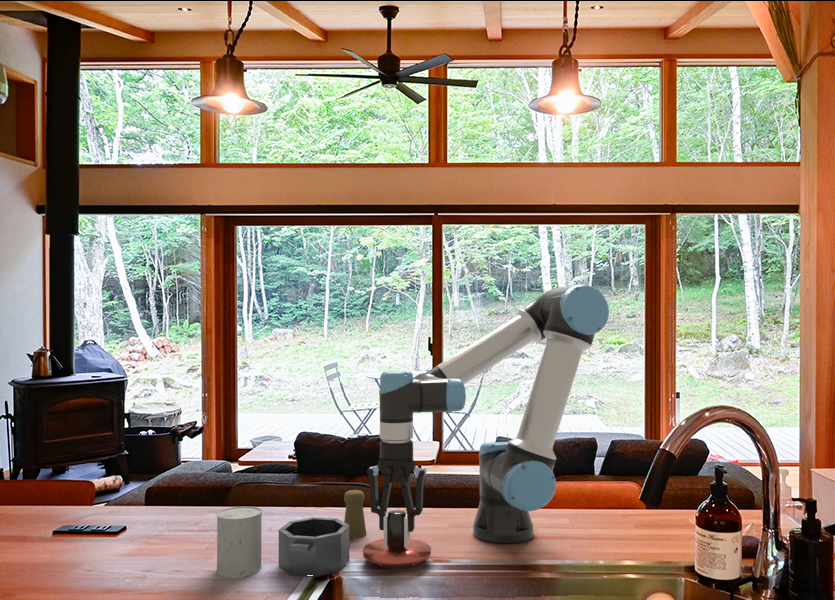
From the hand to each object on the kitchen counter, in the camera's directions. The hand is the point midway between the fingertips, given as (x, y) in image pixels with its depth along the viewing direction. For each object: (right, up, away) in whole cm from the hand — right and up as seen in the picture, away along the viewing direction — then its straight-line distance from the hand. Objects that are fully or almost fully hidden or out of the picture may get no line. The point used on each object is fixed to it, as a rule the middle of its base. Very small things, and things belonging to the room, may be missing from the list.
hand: (397, 545), depth 146 cm
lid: (0, -4, 0) cm, 4 cm away
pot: (-18, -4, -1) cm, 19 cm away
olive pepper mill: (-11, -5, +19) cm, 23 cm away
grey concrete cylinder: (-34, -4, -4) cm, 35 cm away
